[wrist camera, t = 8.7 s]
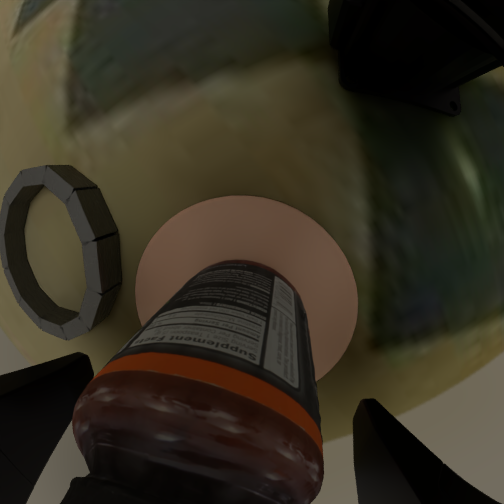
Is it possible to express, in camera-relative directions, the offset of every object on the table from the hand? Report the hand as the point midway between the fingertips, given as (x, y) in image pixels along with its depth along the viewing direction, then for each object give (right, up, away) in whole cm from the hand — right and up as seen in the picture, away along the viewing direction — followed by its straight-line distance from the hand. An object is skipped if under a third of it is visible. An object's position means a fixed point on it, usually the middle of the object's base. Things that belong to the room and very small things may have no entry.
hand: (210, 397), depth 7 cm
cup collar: (-11, +4, +7) cm, 14 cm away
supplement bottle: (+1, +1, +5) cm, 6 cm away
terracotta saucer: (+1, +2, +6) cm, 6 cm away
